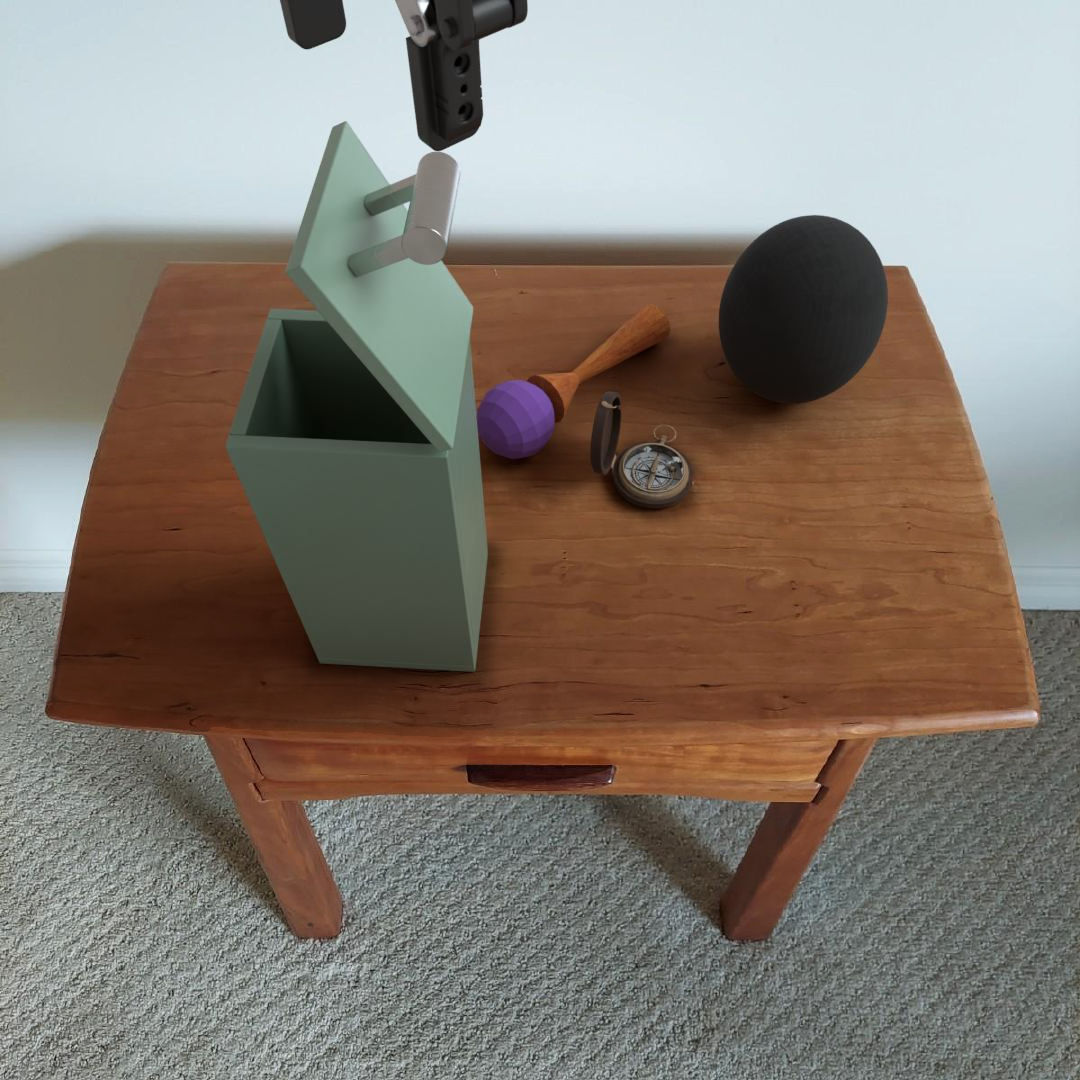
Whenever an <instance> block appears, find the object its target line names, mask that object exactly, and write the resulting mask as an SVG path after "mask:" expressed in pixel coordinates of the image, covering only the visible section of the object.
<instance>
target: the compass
mask: <svg viewBox="0 0 1080 1080" xmlns="http://www.w3.org/2000/svg"><path fill="white" fill-rule="evenodd" d="M622 411H623V407H622V397H621V394H620V393H619V392H616V391H606V392H605V393H604V394H603V395H602V397H601V398H600V400H599V402H598V405H597V408H596V412H595V415H594V419H593V423H592V431H591V435H590V436H591V437H590V446H589V461H590V466H591V469H592V470H593V472H594V473H595V474H599V475H607V474H608V473H609V471H610V469H611V471H612V472H611V474H612V479H613V484H614V487H615V489H616V490H617V492H618V494H620V495H621V496H622V497H623V498H624V499H625V500H627V501H629V502H630V503H632V504H634V505H636V506H637V507H641V508H642V507H643V508H647V509H664V508H669V507H672V506H674V505H676V504H677V503H679V502H681V501H682V500H683V499H684V498H685V497H686V496H687V495H688V494H689V493H690V492H689V491H690V490H691V487H693V486H694V484H695V482H694V480H693V479H694V478H693V477H694V471H693V467H692V463H691V462H690V461H689V459H688V458H687V456H686V455H685V454H684V453H682V452H681V451H680V450H679V449H678V448H676V447H674V446H673V445H669V444H668V443H672V442H673V441H675V440H676V437H677V431H676V429H675V428H674V427H673V426H672V425H669V424H660V425H657V426H656V427H654V429H653V430H652V435H653V438H654V439H655V440H656V441H642V442H637V443H634V444H632V445H630V446H628V447H625V448H624V449H623V450H622V451H621V452H620V453H618V455H617V454H616V453H617V448H618V445H619V439H620V433H621V426H622V415H623V414H622ZM662 427H666V428H669V429H671V430H672V432H673V433H674V435H673V438H671V439H670V440H667V439H668V437H667V436H666V435H665V434H664V435H663V434H662V435H660V436H659V438H658V436H656V431H657V430H658V429H660V428H662Z"/></svg>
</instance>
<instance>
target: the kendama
mask: <svg viewBox="0 0 1080 1080" xmlns="http://www.w3.org/2000/svg"><path fill="white" fill-rule="evenodd" d="M670 332H671V324H670V320H669V318H668V316H667V314H666V313H665V311H664V310H663V309H662V308H661V307H659V306H657V305H656V304H651V303H648V304H646V305H643V306H642V307H641V308H640V309H638V311H637V312H636V313H634V314H633V315H632V316H631V317H630V318H629V319H628V320H627V321H626V322H624V324H622V325H621V326H620V327H619V328H618V329H617V330H616V331H615V332H614V333H613V334H611V336H609V337H608V338H607V339H606V340H605V341H604V342H602V344H601V345H599V346H598V347H597V348H596V349H595V350H593V352H592V353H591V354H590V355H589V356H587V357H586V358H585V359H584V360H583V361H582V362H581V363H580V364H579V365H577V367H575V368H574V369H573V370H572V371H571V372H560V373H559V372H558V373H546V374H544V373H543V374H534V375H530V376H529V377H528V378H527V380H526V381H525V380H521V379H515V380H506V381H503V382H500V383H497V385H495V386H494V387H492V388H490V389H489V390H487V392H486V393H485V394H484V395H485V396H484V397H483V398H482V400H481V402H480V404H479V406H478V407H477V409H476V417H477V428H478V436H479V437H480V438H481V440H482V442H483V444H484V445H485V446H486V447H487V448H488V450H490V451H491V452H493V453H494V454H496V455H499V456H501V457H504V458H508V459H511V460H516V459H522V458H527V457H532V456H534V455H535V454H538V452H540V451H541V450H542V449H543V448H544V447H545V446H546V445H547V444H548V443H549V441H550V439H551V436H552V435H553V433H554V431H555V424H556V423H560V422H561V421H562V420H563V419H564V417H565V415H566V413H567V411H568V409H569V407H570V405H571V403H572V400H573V398H574V396H575V394H576V391H577V389H578V387H579V385H580V384H581V383H583V382H585V381H587V380H589V379H591V378H593V377H595V376H598V375H599V374H600V373H602V372H603V373H604V372H605V371H607V370H608V369H611V368H612V367H614V366H616V365H618V364H620V363H622V362H624V361H626V360H628V359H630V358H631V357H633V356H636V355H637V354H640V353H641V352H643V351H645V350H647V349H649V348H650V347H653V346H654V345H656V344H658V343H660V342H662V341H664V340H666V339H667V338H668V337H669V335H670Z"/></svg>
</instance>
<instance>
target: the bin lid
mask: <svg viewBox="0 0 1080 1080" xmlns="http://www.w3.org/2000/svg"><path fill="white" fill-rule="evenodd" d="M460 180H461V168H460V165H459V163H458V162H457V160H456V159H455V158H454V157H452V155H450V154H448V153H445V152H443V151H431V152H428V153H426V154H425V155H423V156H422V157H421V159H420V160H419V161H418V164H417V169H416V173H415V174H413V175H410V176H409V177H406V178H403V179H401V180H398V181H396V182H393V183H391V184H390V182H389V181H388V179H387V178H386V177H385V175H384V174H383V172H382V170H381V169H380V168H379V166H378V165H377V163H376V161H375V160H374V159H373V158H372V156H371V154H370V153H369V151H368V150H367V149H366V147H365V146H364V144H363V143H362V142H361V140H360V138H359V137H358V135H357V134H356V132H355V130H354V129H353V128H352V127H351V125H350V123H349V122H348V121H347V120H344V121H343V122H340V123H338V124H336V125H334V126H332V128H331V130H330V132H329V136H328V139H327V143H326V146H325V149H324V152H323V154H322V158H321V161H320V165H319V167H318V171H317V173H316V176H315V179H314V182H313V186H312V188H311V192H310V195H309V197H308V201H307V204H306V207H305V210H304V213H303V216H302V220H301V223H300V226H299V228H298V232H297V235H296V238H295V242H294V244H293V247H292V250H291V253H290V257H289V259H288V262H287V265H286V269H285V274H286V276H288V278H289V279H290V280H291V281H292V282H293V284H294V285H295V286H296V287H297V289H298V290H299V291H301V293H302V294H303V296H304V297H306V299H307V300H308V301H309V302H310V303H311V304H312V306H313V307H314V308H315V309H316V311H319V313H320V314H321V315H322V316H323V317H324V318H325V320H326V321H327V322H328V323H329V324H330V325H331V327H332V328H333V329H334V330H335V331H336V332H337V334H338V335H339V336H340V337H341V338H342V339H343V341H344V342H345V343H346V344H347V345H348V346H349V348H350V349H351V350H352V351H353V352H354V353H355V355H356V356H357V357H358V358H359V359H360V360H361V362H362V363H363V364H364V365H365V366H366V367H367V369H368V370H369V371H370V372H371V373H372V375H373V376H374V377H375V378H376V379H377V380H378V382H379V383H380V384H381V385H382V386H383V387H384V389H385V390H386V391H387V392H388V393H389V394H390V396H391V397H392V398H393V399H394V400H395V401H396V403H397V404H398V405H399V406H400V407H401V408H402V410H403V411H404V412H405V413H406V414H407V415H408V417H409V418H410V419H411V420H412V421H413V422H414V424H415V425H416V426H417V427H418V428H419V429H420V431H421V432H422V433H423V434H424V435H425V436H426V438H427V439H428V440H429V441H430V442H431V443H432V445H433V446H434V447H435V448H436V449H437V450H438V452H443V451H446V450H450V449H453V446H454V439H455V432H456V425H457V418H458V412H459V405H460V398H461V391H462V384H463V378H464V371H465V364H466V357H467V350H468V343H469V337H470V338H471V329H472V323H473V315H474V306H473V304H472V303H471V301H470V300H469V298H468V296H467V295H466V294H465V293H464V291H463V290H462V288H461V287H460V285H459V284H458V282H457V281H456V279H455V277H453V275H452V274H451V272H450V271H449V269H448V268H447V266H446V264H445V263H444V262H443V259H444V258H445V257H446V255H447V252H448V246H449V241H450V236H451V231H452V230H451V229H452V224H453V219H454V214H455V208H456V204H457V203H456V202H457V197H458V191H459V186H460ZM407 203H409V205H408V208H407V207H406V206H405V204H407Z"/></svg>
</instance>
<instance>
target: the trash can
mask: <svg viewBox="0 0 1080 1080" xmlns="http://www.w3.org/2000/svg"><path fill="white" fill-rule="evenodd" d="M472 358H473V356H472V346H471V336H470V337H469V343H468V350H467V357H466V364H465V371H464V378H463V384H462V391H461V398H460V405H459V412H458V418H457V425H456V432H455V439H454V446H453V449H450V450H446V451H443V452H438V450H437V449H436V448H435V447H434V446H433V445H432V443H431V442H430V441H429V440H428V439H427V438H426V436H425V435H424V434H423V433H422V432H421V431H420V429H419V428H418V427H417V426H416V425H415V424H414V422H413V421H412V420H411V419H410V418H409V417H408V415H407V414H406V413H405V412H404V411H403V410H402V408H401V407H400V406H399V405H398V404H397V403H396V401H395V400H394V399H393V398H392V397H391V396H390V394H389V393H388V392H387V391H386V390H385V389H384V387H383V386H382V385H381V384H380V383H379V382H378V380H377V379H376V378H375V377H374V376H373V375H372V373H371V372H370V371H369V370H368V369H367V367H366V366H365V365H364V364H363V363H362V362H361V360H360V359H359V358H358V357H357V356H356V355H355V353H354V352H353V351H352V350H351V349H350V348H349V346H348V345H347V344H346V343H345V342H344V341H343V339H342V338H341V337H340V336H339V335H338V334H337V332H336V331H335V330H334V329H333V328H332V327H331V325H330V324H329V323H328V322H327V321H326V320H325V318H324V317H323V316H322V315H321V314H320V313H319V311H318V310H314V309H313V310H309V309H289V308H288V309H287V308H270V309H269V311H268V314H267V317H266V320H265V323H264V327H263V329H262V332H261V336H260V338H259V341H258V345H257V346H256V350H255V353H254V357H253V359H252V362H251V366H250V368H249V372H248V375H247V378H246V381H245V384H244V387H243V390H242V393H241V396H240V399H239V403H238V406H237V409H236V412H235V415H234V418H233V421H232V423H231V427H230V430H229V432H228V437H227V439H226V443H225V450H226V453H227V454H228V457H229V459H230V461H231V464H232V466H233V468H234V470H235V473H236V476H237V478H238V480H239V482H240V484H241V486H242V489H243V492H244V494H245V495H246V498H247V501H248V502H249V505H250V508H251V509H252V512H253V514H254V516H255V519H256V521H257V524H258V525H259V528H260V530H261V533H262V534H263V537H264V539H265V542H266V543H267V546H268V548H269V550H270V553H271V555H272V557H273V560H274V562H275V564H276V567H277V569H278V571H279V574H280V576H281V578H282V581H283V582H284V585H285V587H286V589H287V591H288V594H289V596H290V598H291V601H292V604H293V605H294V607H295V610H296V612H297V615H298V617H299V618H300V621H301V624H302V626H303V629H304V630H305V633H306V635H307V637H308V640H309V642H310V645H311V646H312V648H313V649H312V650H313V651H314V653H315V655H316V658H317V660H318V662H319V664H324V665H326V664H328V665H342V666H347V665H348V666H360V667H378V668H396V669H397V668H398V669H399V668H400V669H415V670H431V671H432V670H433V671H434V670H435V671H450V672H451V671H452V672H453V671H454V672H470V673H471V672H472V673H475V672H476V667H477V658H478V657H477V656H478V650H479V649H478V648H479V640H480V639H479V638H480V630H481V622H482V613H483V603H484V592H485V585H486V576H487V566H488V556H489V550H488V538H487V537H488V536H487V526H486V524H487V523H486V513H485V512H486V511H485V501H484V491H483V479H482V465H481V454H480V453H481V452H480V442H479V441H480V440H479V432H478V428H477V407H476V406H477V405H476V394H475V393H476V392H475V382H474V369H473V359H472Z"/></svg>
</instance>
